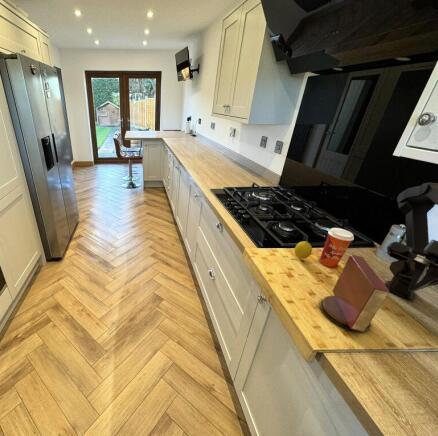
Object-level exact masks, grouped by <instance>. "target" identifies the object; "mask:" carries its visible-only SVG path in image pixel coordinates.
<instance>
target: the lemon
mask: <svg viewBox="0 0 438 436" xmlns="http://www.w3.org/2000/svg"><path fill="white" fill-rule="evenodd" d="M312 251H313V247H312V245H311V244H310V243H309V242H308V241H306V240H305V241H304V240H303V241H299V242H298V243H297V244H296V245H295V246H294V254H295V256H296V257H297V259H299V260H302V259H303V260H305V259H307V258H309V257H310V256H311V254H312Z"/></svg>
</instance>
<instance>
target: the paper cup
mask: <svg viewBox="0 0 438 436" xmlns="http://www.w3.org/2000/svg"><path fill="white" fill-rule="evenodd" d="M327 233H328V234H327V236H326V240H325V243H324V246H323V249H322V252H321V255H320V257H319V258H320V259H319V263H320V264H322V265H323V266H324V267H327V268H332V269H333V268H336V267H338V265H339V263H340V261H341V260H342V258H343V257H344V255H345V253H346V252H347V249H348V248H349V247H350V244H351V243H352V241H354V239H355V237H354V233H352V232H351V231H349V230H347V229H344V228H340V227H331V228H330V230H328V231H327Z"/></svg>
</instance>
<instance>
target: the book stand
mask: <svg viewBox="0 0 438 436" xmlns="http://www.w3.org/2000/svg"><path fill="white" fill-rule="evenodd" d="M332 293H333V295H328V296H326V297H324V298H323V300H324V301H323V303H322V304H323V308H324V310H325V311H326V312H327V313H328V314H329V315H330V316H331V317H332V318H334V319H335V320H337V321H338V322H340V323H342V324H344V325H347V326H349V327H350V328H351V329H354V330H358V331H362V332H361V333H364V332H366V331H365V330H366V328H367V327H368V326H369V324H370V325H371V323H372V321H373V319H374V318H375V316H376V314H377V313H378V311H379V309H380V308H381V306H382V305H383V304H384V302H385V300H386V299H387V297H388V296H389V294H390V293H391V292H390V291H389V290H388V288H387V287H386V284H385V283H384V282H383V281H382V280H381V278H380V277H379V276H378V274H377V273H376V272H375V270H373V268H372V267H371V266H370V264H369V263H368V262H367V260H366V259H365V258H364V256H359V255H354V254H349V255H348V259H347V261H346V262H345V264H344V266H343V268H342V271H341V272H340V274H339V277H338V278H337V280H336V282H335V284H334V287H333V289H332Z"/></svg>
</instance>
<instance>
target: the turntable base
mask: <svg viewBox="0 0 438 436" xmlns="http://www.w3.org/2000/svg"><path fill="white" fill-rule="evenodd" d="M323 301H324V299H322V300H321V302H320V304H319V308H320V311H321V312H322V314H323V315H324V316H325V317H326V318H327V319H328V320H329V321H330V322H332V323H333V324H335V325H336V326H338V327H340V328H342V329H345V330H347V331H351V332H356V333H363V332H362V331H358V330H354V329H351V328H350V327H349V326H347V325H344V324H342V323H340V322H338V321H337V320H335V319H334V318H332V317H331V316H330V315H329V314H328V313H327V312H326V311H325V310H324V308H323V304H322V303H323ZM370 327H371V323H370V324H369V326H368V327H367V328H366V330H365V331H364V332H367V331H368V330H369V329H370Z"/></svg>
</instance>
